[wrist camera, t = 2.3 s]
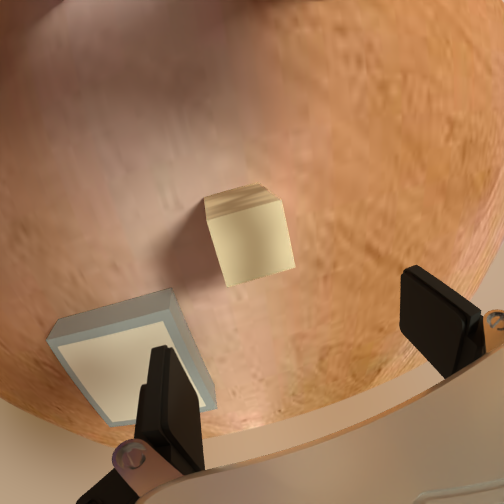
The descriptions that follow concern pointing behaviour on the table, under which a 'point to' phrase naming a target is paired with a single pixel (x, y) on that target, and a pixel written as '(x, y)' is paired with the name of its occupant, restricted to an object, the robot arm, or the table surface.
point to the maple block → (248, 233)
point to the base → (127, 353)
